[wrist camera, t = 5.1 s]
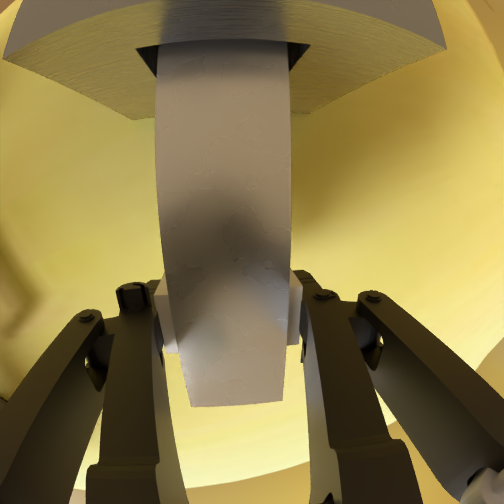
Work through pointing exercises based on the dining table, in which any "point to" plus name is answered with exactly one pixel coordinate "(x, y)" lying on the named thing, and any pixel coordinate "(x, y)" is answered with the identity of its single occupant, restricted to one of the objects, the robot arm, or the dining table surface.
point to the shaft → (226, 213)
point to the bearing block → (219, 27)
